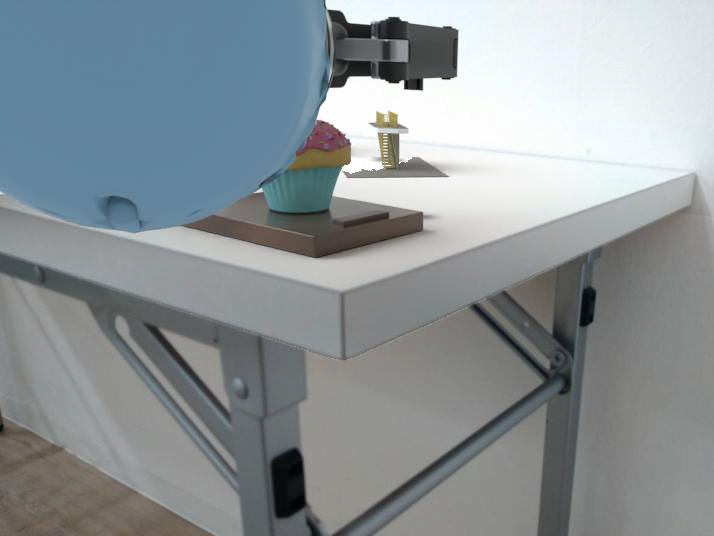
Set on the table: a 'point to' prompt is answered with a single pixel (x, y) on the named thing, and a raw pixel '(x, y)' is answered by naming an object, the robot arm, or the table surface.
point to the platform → (395, 152)
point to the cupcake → (311, 173)
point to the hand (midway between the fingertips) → (280, 48)
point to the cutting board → (311, 225)
